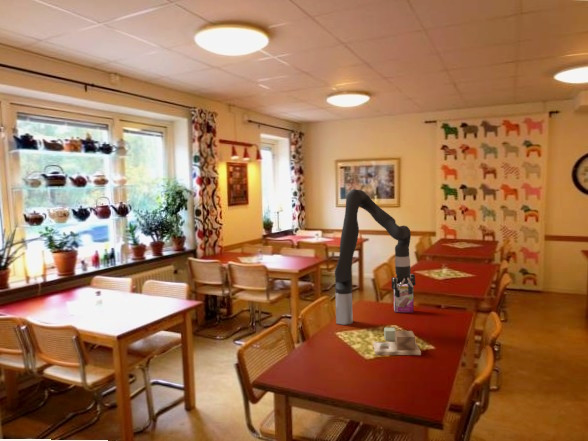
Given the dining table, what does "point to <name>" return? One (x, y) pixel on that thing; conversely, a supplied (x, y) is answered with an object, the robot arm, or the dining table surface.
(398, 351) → the birch board
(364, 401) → the dining table surface
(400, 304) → the candy bar box
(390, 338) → the sage cube
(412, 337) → the walnut base block
